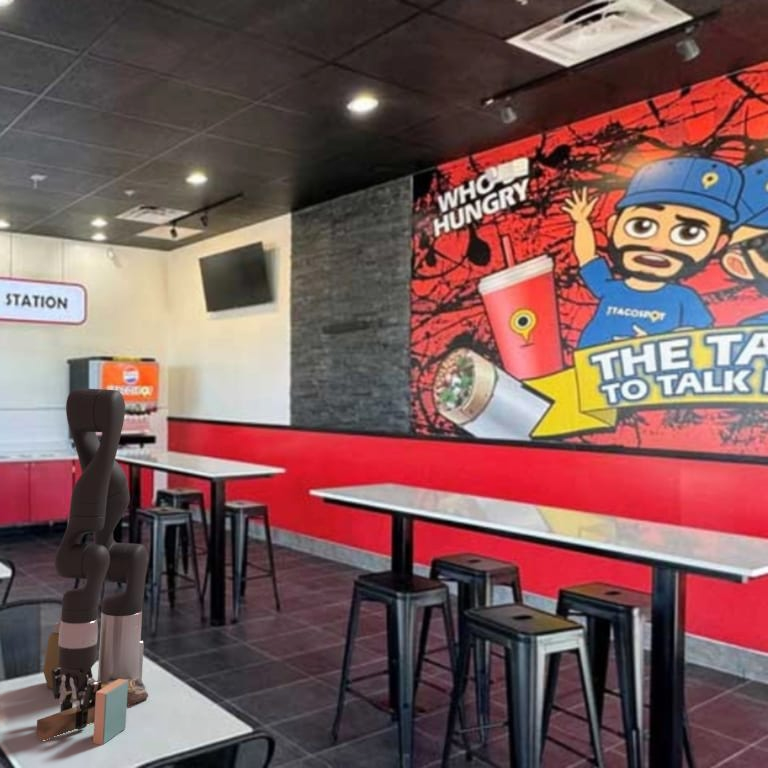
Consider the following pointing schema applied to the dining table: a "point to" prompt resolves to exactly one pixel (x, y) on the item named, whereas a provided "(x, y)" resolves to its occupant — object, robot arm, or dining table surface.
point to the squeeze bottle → (52, 655)
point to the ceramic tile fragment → (132, 690)
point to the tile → (110, 711)
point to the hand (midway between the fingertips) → (73, 724)
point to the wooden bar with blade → (60, 723)
